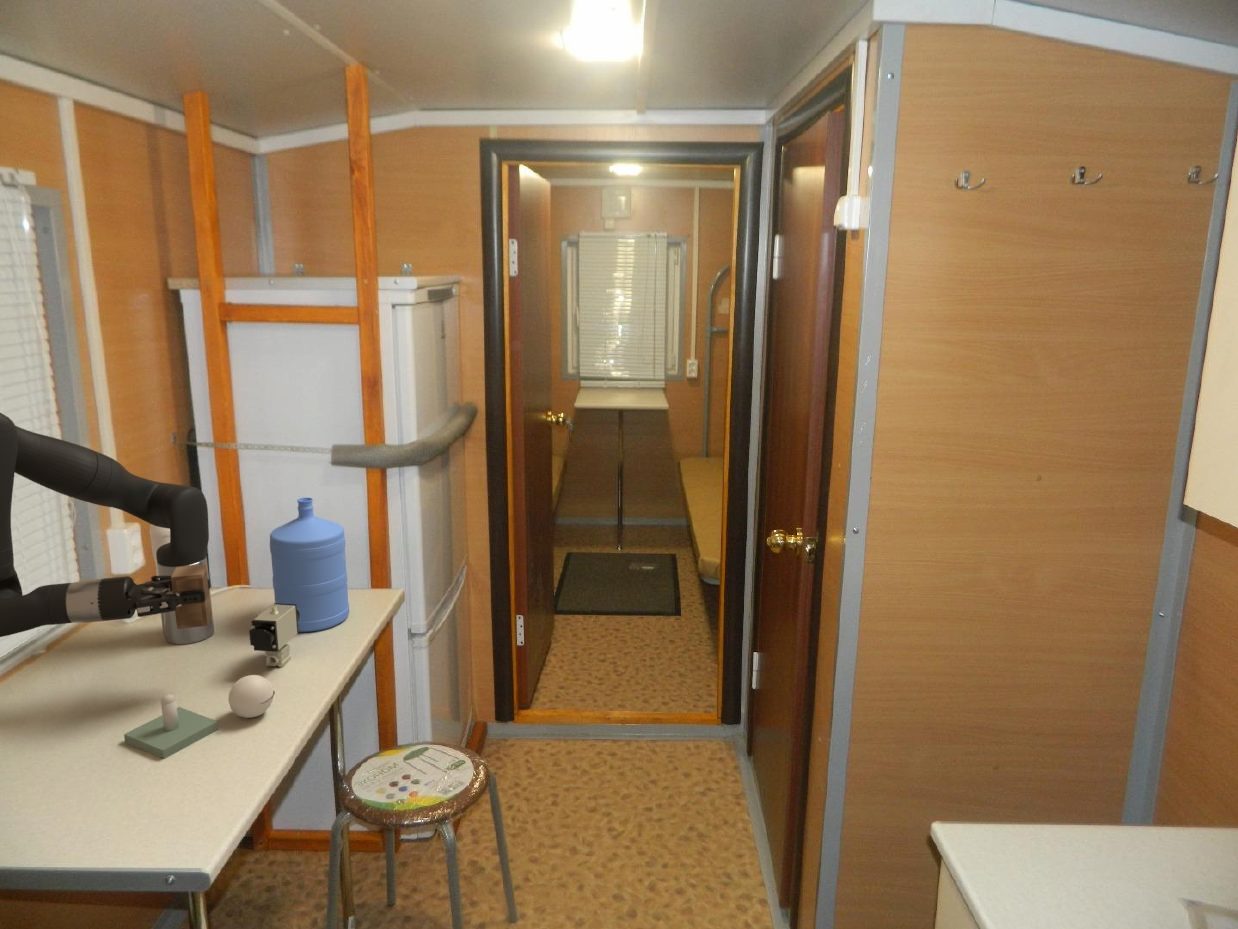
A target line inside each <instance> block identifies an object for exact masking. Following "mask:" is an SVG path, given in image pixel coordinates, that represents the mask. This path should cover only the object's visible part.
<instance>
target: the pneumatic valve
mask: <svg viewBox="0 0 1238 929" xmlns="http://www.w3.org/2000/svg"><path fill="white" fill-rule="evenodd" d="M299 620H300V613H299V611H298V610H297V605H296V604H281V603H275V602H274V603H273V604H272V605H271V606H269V607H267V609H265V610H261V611H260V612H259V613H257V614H256V617H255V618H254V619H252V620H251V629H249V631H248V632H249V640H250V641H249V642H250V646H253V651H257V652H258V651H259V652H265V653H264V654H265V655H266V659H265V662H266V664H265V665H266V666H267V667H277V666H278V667H279V668H282V667H283V666H284V665H286V663H288V662H289V661H290V660H291V655H290V650H291V648H290V647H291V646H290V644H289V643H288V642H290V641H291V640H292V639H293V638H294V637H295V636H296V635H298V634H299V633H300V632H299V630H298V621H299Z"/></svg>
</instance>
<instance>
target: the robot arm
mask: <svg viewBox="0 0 1238 929" xmlns="http://www.w3.org/2000/svg"><path fill="white" fill-rule="evenodd" d="M15 474H16V475H19V476H21V477H23V478H24V479H27V480H29V481H31V482H34V483H35V484H37V485H40V486H42V487H44V488H47V489H49V490H51V491H54V492H56V493H59V494H61V495H64V496H67V497H70V498H73V499H76V500H78V501H83V502H86V503H90V504H93V505H97V506H100V507H101V506H102V507H107V508H114V509H117V510H120V511H122V512H124V513H125V512H126V513H127V514H129V515H132V516H133V517H136V518H137V519H140V520H141V521H144V522H146V523H148V524H150V525H151V524H152V525H154V526H157V527H162V528H168V529H170V543H167V544H164V545H162V546H161V547H159V548H158V549H157V552H156V557H157V565H158V574H159V576H156V575H152V576H151V577H150V580H151V581H146V582H144V583H140V584H137V583H135V582H134V579H133V577H131V576H117V577H116V576H115V577H105V578H94V579H85V580H81V581H75V582H66V583H64V582H63V583H54V584H46V585H41V586H38V587H37V588H35V589H34V590H31V591H30V592H29V593H26V594H23V589H22V586H21V585H22V584H21V582H20V579H19V575H18V573H17V571H16V568H15V565H14V564H15V563H14V562H15V561H14V547H13V546H14V545H13V536H12V535H13V534H12V518H11V516H12V501H13V491H14V490H13V489H14V481H15ZM209 530H210V529H209V509H208V504H207V499H206V497H205V494H204V493H203V491H202V490H201V489H199V488H198V487H194V486H192V485H191V486H190V485H183V484H176V483H170V482H169V483H167V482H161V481H155V480H151V479H148V478H145V477H142V476H141V477H140V476H139V475H135V474H133V473H131V472H130V471H128V469H127V468H125V467H124V466H123V465H122V464H121V463H120V462H118V460H116V459H114V458H112V457H110V456H108V455H106V454H103V453H101V452H98V451H96V450H93V449H91V448H88V447H86V446H82V445H79V444H76V443H73V442H70V441H67V440H63V439H60V438H56V437H53V436H49V435H45V434H42V433H37V432H33V431H30V430H27V429H24V428H22V427H20V426H19V425H18V426H17V425H16V424H15V423H14V421H13V420H12V419H11V418H10V417H8V416H7V415H6V414H4V413H1V412H0V638H3V637H7V636H11V635H16V634H19V633H22V632H26V631H29V630H34V629H37V628H40V627H44V626H51V625H54V626H55V625H66V624H74V623H77V624H78V623H79V624H80V623H82V624H83V623H98V622H108V621H109V622H110V621H116V620H117V621H118V620H126V619H127V620H128V619H131V618H133V617H134V615H135V613H136V614H137V617H139V618H143V617H146V616H147V617H149V616H153V615H158V614H160V617H161V618H160V619H161V624H162V634H163V636H164V637H165V640H166V641H167V642H168V643H170V644H174V645H187V644H192V643H197V642H201V641H204V640H206V639H208V638H210V637H211V636H213V634H214V632H215V626H214V616H213V607H212V596H211V581H210V576H209V568H208V565H209V564H208V559H207V558H208V556H207V548H208V546H209V545H208V544H209V542H210V540H209V539H210V533H209ZM199 565H206V567H207V577H208V586H209V595H210V604H211V614H212V615H211V618H210V621H209V624H208V626H201V627H192V628H183V629H177V623H176V615H175V610H176V607H180V606H182V604H191V603H201V602H204V601H205V599H206V595H205V591H204V590H193V591H183V592H182V593H181V592H173V590H172V582H171V576H172V574H173V573H174V571H175V569H176V567H187V566H199Z"/></svg>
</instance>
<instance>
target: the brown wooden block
mask: <svg viewBox="0 0 1238 929" xmlns="http://www.w3.org/2000/svg"><path fill="white" fill-rule="evenodd" d="M171 582H172V590H173V592H181V593H182V592H183V591H193V590H204V591H205V595H206V599H205V601H204V602H201V603H191V604H182V606H180V607H176V610H175V615H176V623H177V629H183V628H192V627H201V626H208V624H209V621H210V618H211V615H213V613H212V614H211V604H212V603H211V604H210V595H209V586H208V577H207V567H206V565H199V566H187V567H176V569H175V571H174V573H173V574H172V576H171Z"/></svg>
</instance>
